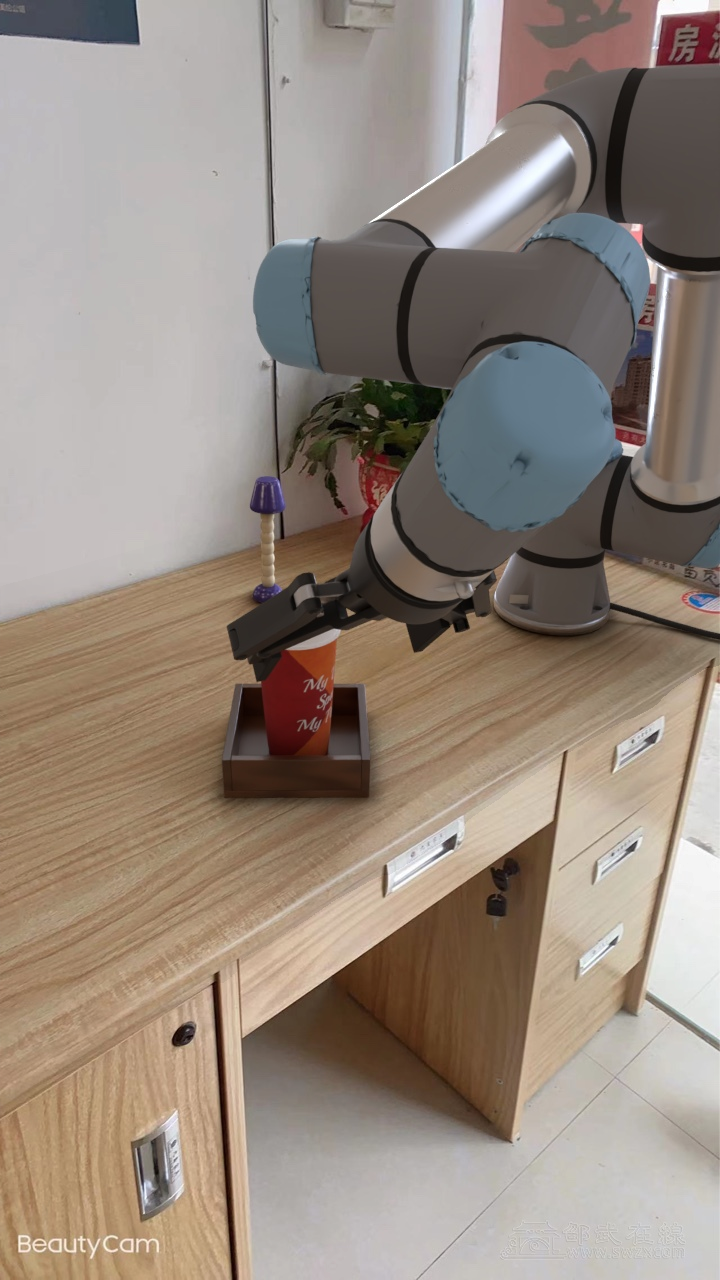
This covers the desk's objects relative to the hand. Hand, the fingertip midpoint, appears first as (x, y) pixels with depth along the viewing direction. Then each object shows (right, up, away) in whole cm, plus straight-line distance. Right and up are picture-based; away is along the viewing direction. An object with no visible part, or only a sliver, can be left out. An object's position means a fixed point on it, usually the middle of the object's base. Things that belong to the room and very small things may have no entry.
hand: (337, 650), depth 72 cm
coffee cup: (-4, -10, +16) cm, 20 cm away
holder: (-4, -11, +17) cm, 20 cm away
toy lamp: (-11, +7, +49) cm, 51 cm away
